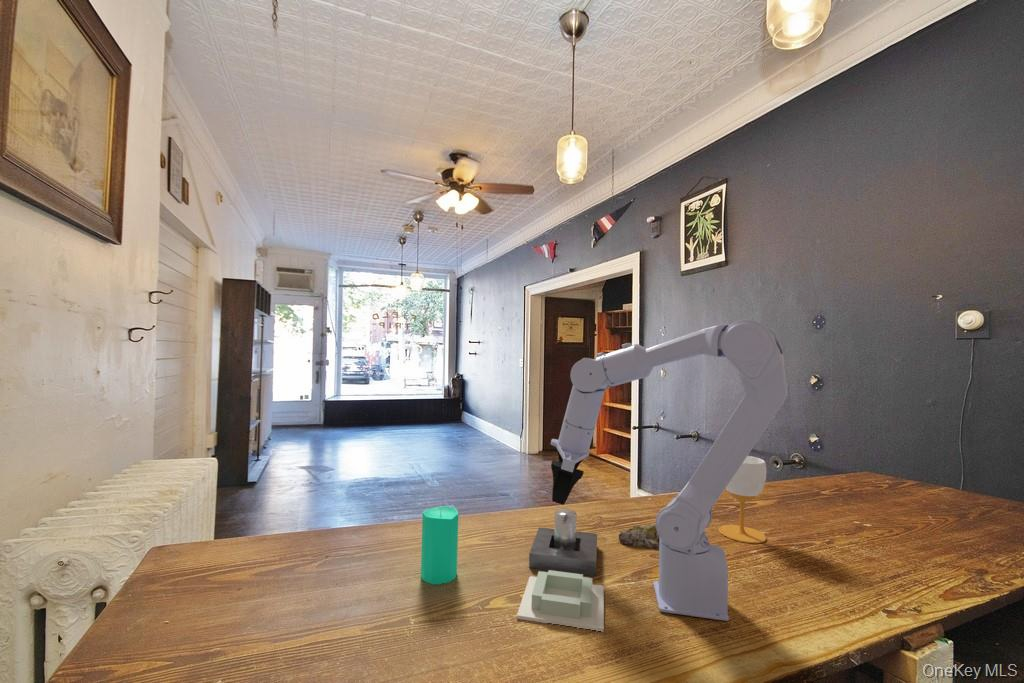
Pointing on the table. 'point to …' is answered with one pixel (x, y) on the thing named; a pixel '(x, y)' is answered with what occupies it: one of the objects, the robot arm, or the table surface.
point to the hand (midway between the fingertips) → (560, 493)
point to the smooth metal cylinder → (565, 530)
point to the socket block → (564, 553)
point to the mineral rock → (641, 536)
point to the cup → (746, 498)
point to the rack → (563, 600)
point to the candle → (439, 544)
